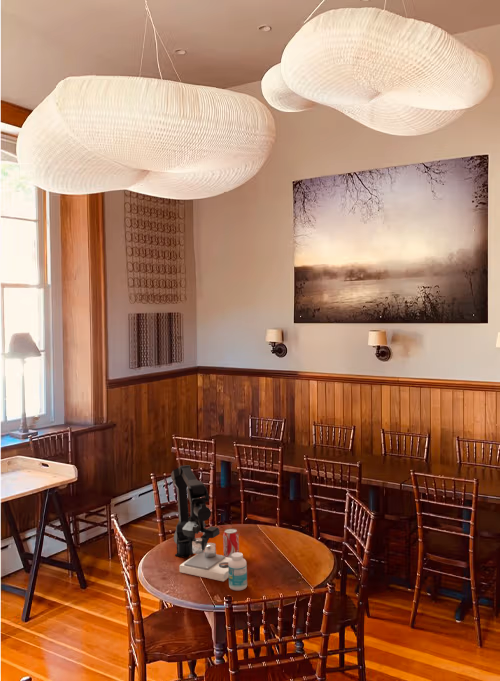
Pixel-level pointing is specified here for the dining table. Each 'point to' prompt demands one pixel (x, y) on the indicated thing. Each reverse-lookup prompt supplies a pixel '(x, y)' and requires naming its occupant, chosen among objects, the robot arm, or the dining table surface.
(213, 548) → the cylinder
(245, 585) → the pill bottle
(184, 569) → the scale
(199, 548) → the cylinder
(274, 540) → the dining table surface
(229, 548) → the soda can
